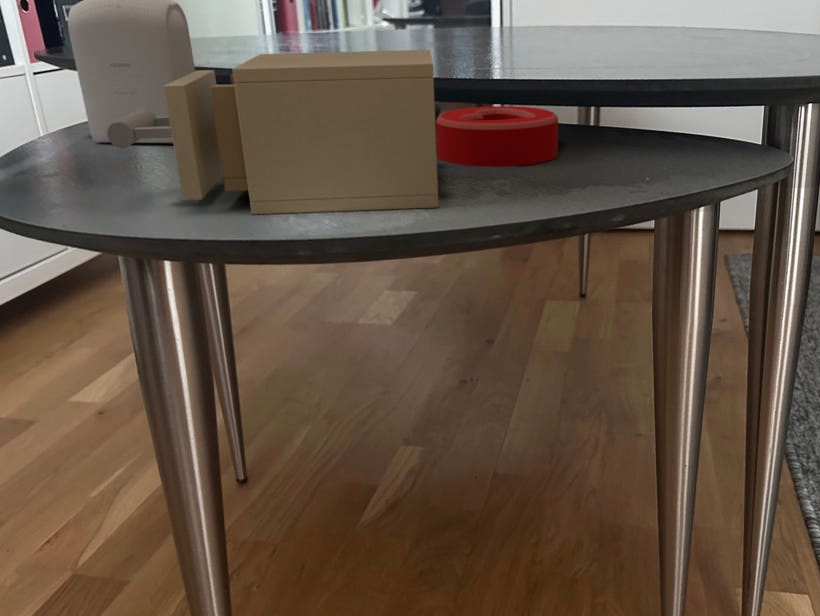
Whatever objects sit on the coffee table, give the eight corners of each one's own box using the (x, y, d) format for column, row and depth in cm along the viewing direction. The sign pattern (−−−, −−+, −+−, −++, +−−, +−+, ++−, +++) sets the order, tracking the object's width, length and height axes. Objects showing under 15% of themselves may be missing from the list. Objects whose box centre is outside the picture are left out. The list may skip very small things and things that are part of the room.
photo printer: (84, 145, 76) (52, -6, 70) (112, 136, 79) (84, -8, 74) (189, 147, 74) (165, -8, 68) (213, 138, 77) (191, -10, 72)
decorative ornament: (558, 166, 64) (559, 123, 62) (431, 167, 64) (429, 124, 63) (556, 143, 72) (557, 104, 71) (443, 143, 73) (442, 105, 72)
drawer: (111, 202, 52) (88, 87, 49) (149, 173, 60) (131, 72, 57) (353, 194, 53) (343, 80, 50) (360, 166, 61) (352, 66, 58)
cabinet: (251, 214, 53) (231, 68, 49) (274, 180, 61) (259, 53, 58) (438, 207, 53) (433, 63, 50) (434, 174, 62) (429, 49, 58)
